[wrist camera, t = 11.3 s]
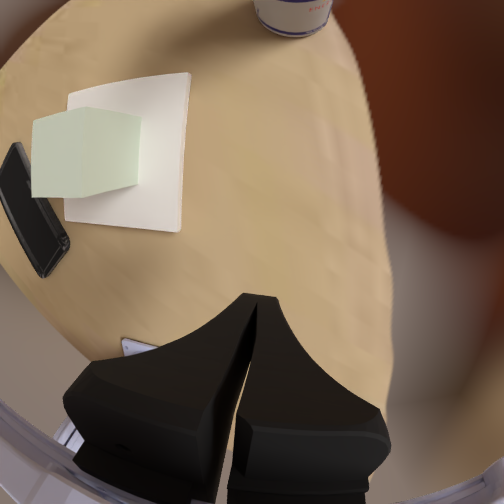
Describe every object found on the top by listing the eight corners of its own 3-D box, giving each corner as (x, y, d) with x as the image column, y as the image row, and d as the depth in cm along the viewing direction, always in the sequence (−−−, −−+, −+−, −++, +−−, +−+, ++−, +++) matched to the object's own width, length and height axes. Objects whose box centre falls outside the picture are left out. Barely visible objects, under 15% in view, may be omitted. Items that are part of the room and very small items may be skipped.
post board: (181, 229, 21) (149, 252, 16) (70, 218, 22) (31, 234, 17) (191, 75, 17) (161, 52, 12) (74, 94, 18) (34, 88, 13)
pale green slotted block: (138, 184, 19) (82, 198, 13) (88, 183, 19) (31, 197, 13) (141, 117, 17) (85, 106, 11) (90, 123, 18) (33, 120, 12)
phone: (42, 281, 24) (-7, 183, 21) (48, 278, 25) (-1, 182, 22) (69, 246, 22) (15, 137, 19) (76, 242, 23) (22, 137, 20)
